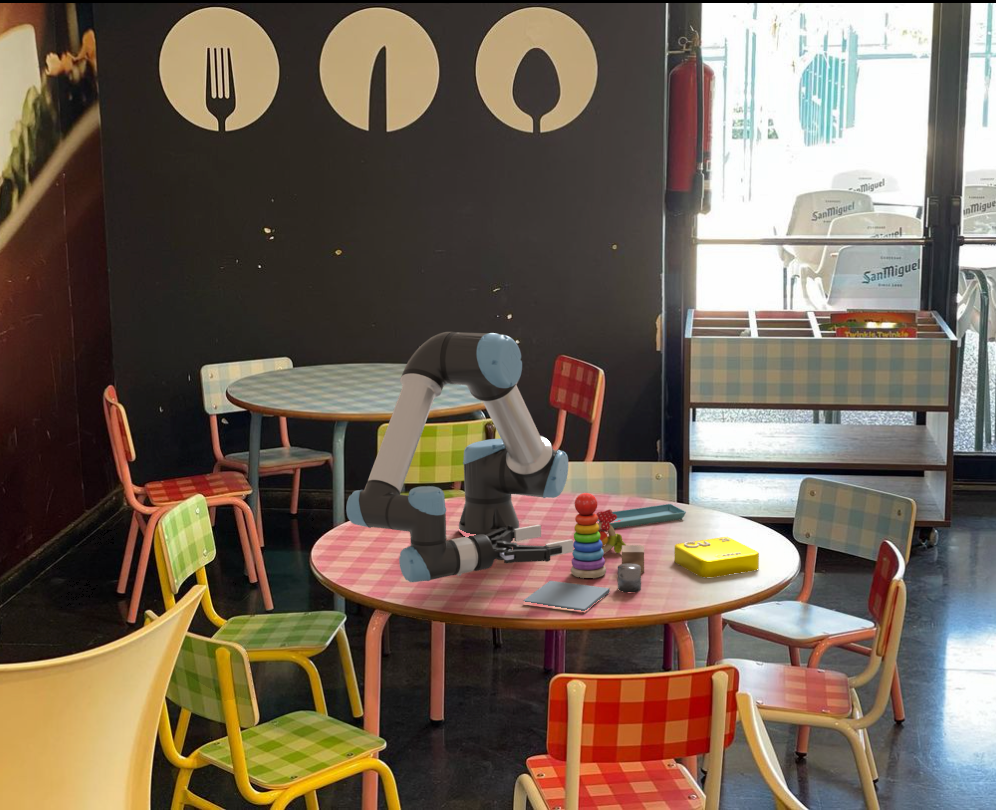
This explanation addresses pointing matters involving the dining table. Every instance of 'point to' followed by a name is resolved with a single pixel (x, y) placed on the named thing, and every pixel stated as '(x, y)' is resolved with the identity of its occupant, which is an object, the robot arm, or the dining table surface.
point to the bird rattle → (609, 532)
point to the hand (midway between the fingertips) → (556, 537)
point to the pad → (567, 595)
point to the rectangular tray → (647, 515)
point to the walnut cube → (633, 555)
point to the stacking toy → (587, 540)
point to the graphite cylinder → (629, 577)
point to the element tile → (716, 557)
